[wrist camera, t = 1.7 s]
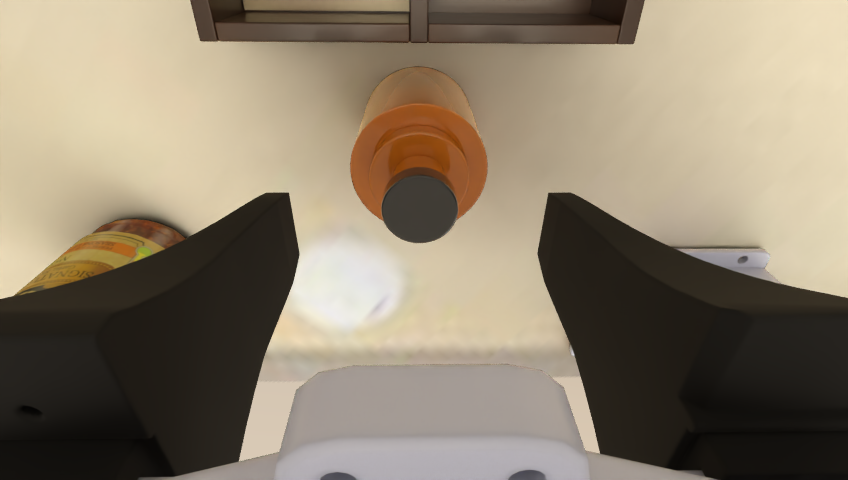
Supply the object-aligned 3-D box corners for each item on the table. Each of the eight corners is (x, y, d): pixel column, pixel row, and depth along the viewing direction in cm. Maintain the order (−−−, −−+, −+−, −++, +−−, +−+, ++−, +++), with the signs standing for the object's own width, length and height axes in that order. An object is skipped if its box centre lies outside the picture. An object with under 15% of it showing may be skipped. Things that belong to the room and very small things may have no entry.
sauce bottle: (153, 191, 22) (-704, 971, 5) (236, 281, 25) (-128, 949, 8) (59, 242, 23) (-832, 970, 7) (149, 320, 26) (-308, 952, 10)
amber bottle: (474, 66, 19) (509, 133, 12) (467, 171, 21) (492, 275, 14) (361, 66, 19) (330, 132, 12) (368, 170, 21) (345, 276, 14)
